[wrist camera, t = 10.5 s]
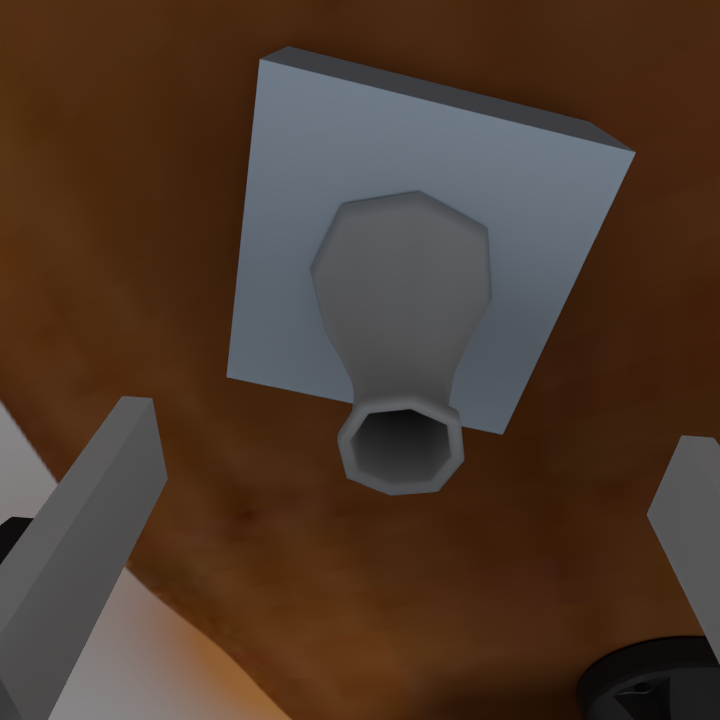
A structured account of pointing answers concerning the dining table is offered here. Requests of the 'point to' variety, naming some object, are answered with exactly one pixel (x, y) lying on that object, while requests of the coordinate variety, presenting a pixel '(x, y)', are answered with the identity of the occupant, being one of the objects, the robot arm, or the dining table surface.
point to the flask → (402, 333)
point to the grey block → (404, 176)
